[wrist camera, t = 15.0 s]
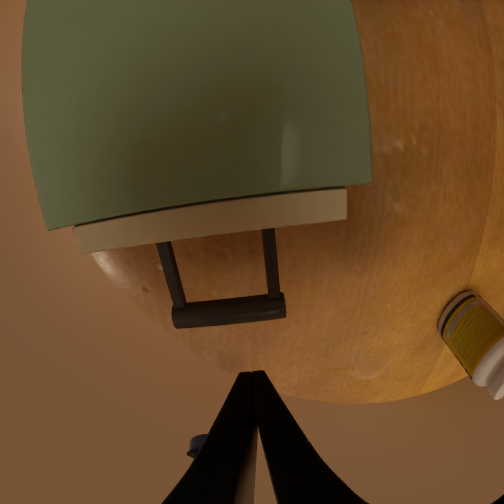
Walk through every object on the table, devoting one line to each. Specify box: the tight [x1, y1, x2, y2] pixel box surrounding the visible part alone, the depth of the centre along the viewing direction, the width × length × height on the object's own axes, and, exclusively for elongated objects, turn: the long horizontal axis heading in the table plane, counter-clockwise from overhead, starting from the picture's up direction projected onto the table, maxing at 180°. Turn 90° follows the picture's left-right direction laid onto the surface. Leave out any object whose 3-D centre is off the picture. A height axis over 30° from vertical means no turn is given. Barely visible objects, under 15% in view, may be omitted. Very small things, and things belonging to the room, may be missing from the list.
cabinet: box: [22, 0, 372, 231], centre depth 9 cm, size 18×12×10 cm, turn 7°
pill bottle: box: [438, 291, 504, 400], centre depth 19 cm, size 6×6×11 cm
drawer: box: [73, 186, 347, 329], centre depth 12 cm, size 23×11×8 cm, turn 7°
